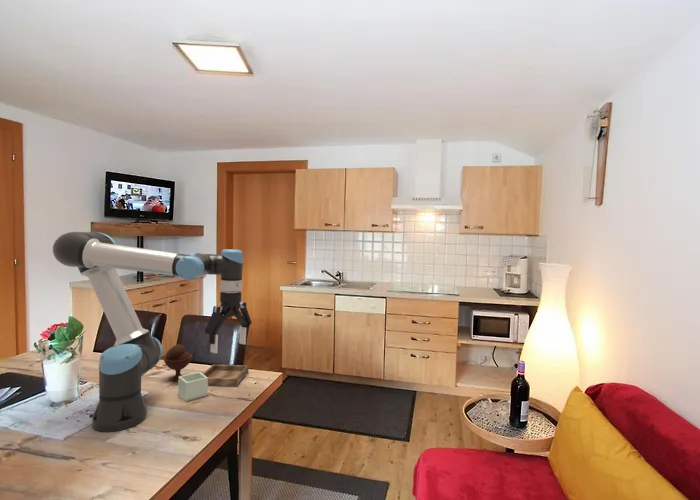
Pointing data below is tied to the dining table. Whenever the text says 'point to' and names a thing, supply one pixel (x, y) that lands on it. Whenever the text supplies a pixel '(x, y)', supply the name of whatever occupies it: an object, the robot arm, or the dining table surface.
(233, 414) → the dining table surface
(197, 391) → the sage crate
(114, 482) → the dining table surface
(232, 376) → the walnut tray
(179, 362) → the ice cream bowl
